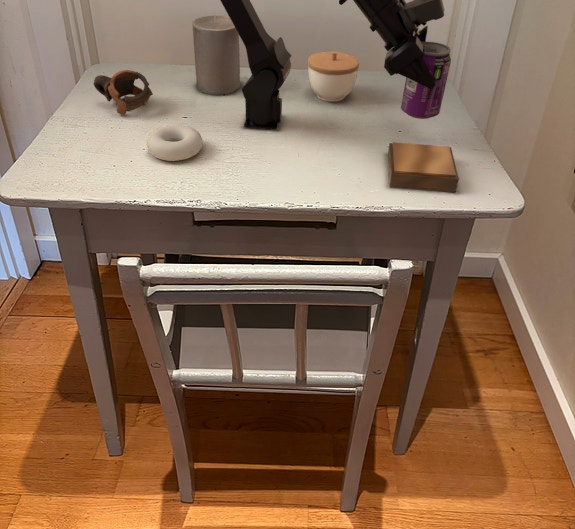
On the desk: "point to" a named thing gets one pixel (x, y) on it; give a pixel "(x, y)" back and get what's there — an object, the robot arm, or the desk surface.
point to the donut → (174, 142)
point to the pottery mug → (124, 90)
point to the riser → (422, 167)
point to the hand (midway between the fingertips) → (434, 79)
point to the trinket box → (332, 74)
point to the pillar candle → (216, 55)
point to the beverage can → (422, 98)
